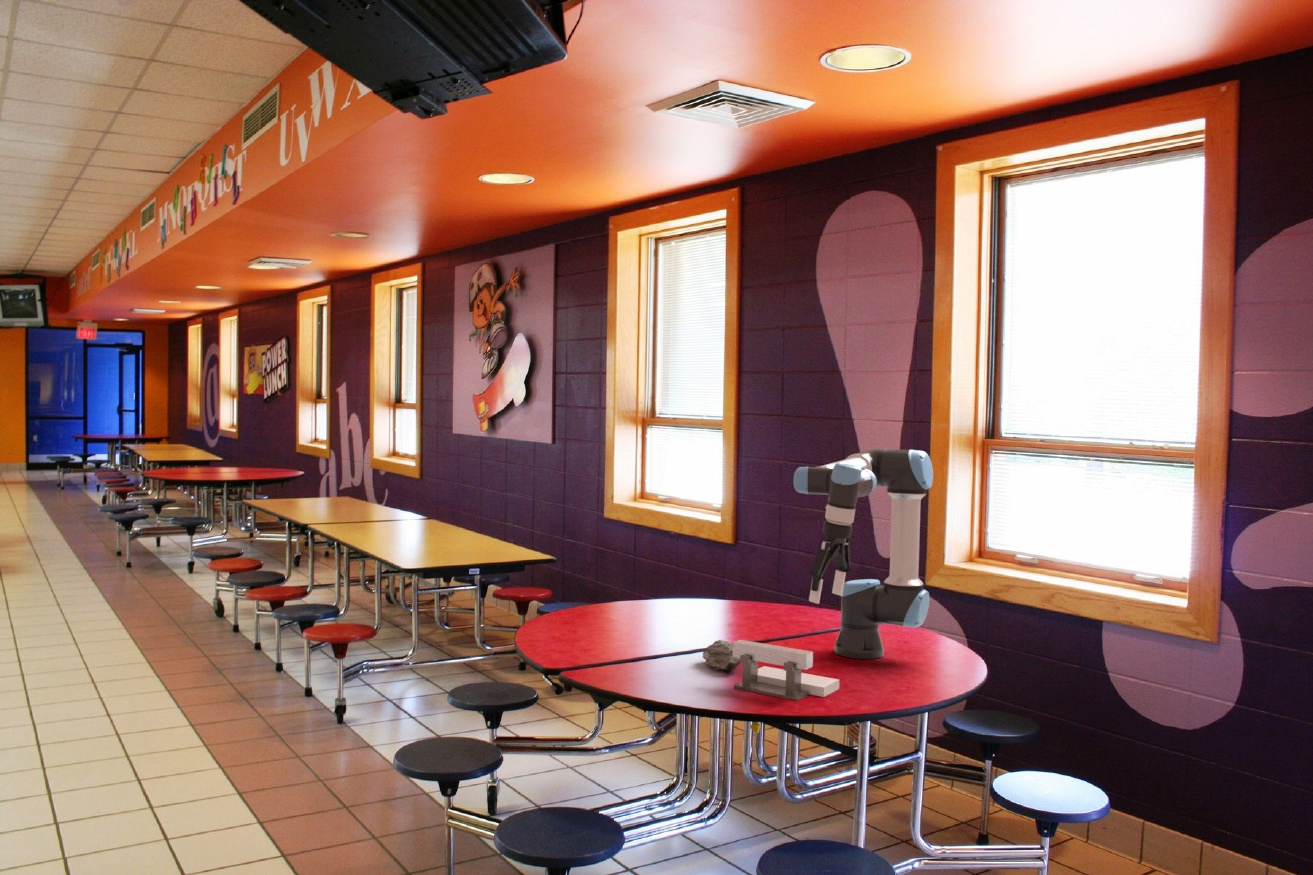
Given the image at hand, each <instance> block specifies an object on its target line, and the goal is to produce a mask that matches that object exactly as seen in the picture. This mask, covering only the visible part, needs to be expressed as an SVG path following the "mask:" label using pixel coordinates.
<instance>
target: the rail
mask: <svg viewBox="0 0 1313 875" xmlns="http://www.w3.org/2000/svg"><path fill="white" fill-rule="evenodd" d="M732 645H733V655H732V657H736V658H740V655H747V656H750V660H753V661H758V663H759V662H760V663H765V664H766V663H767V664H772V665H777V666H783V667H784V663H785V662H787V663H793V664H794V668H798V669H801V670H805V671H806V670H808V669H811V668H813V667H814V666H813V665H814V651H813V650H812V651H811V650H805V649H799V648H793V647H786V646H781V645H776V644H775V645H774V644H768V643H761V642H757V641H750V640H743V639H738V640H736V641H732Z"/></svg>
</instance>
